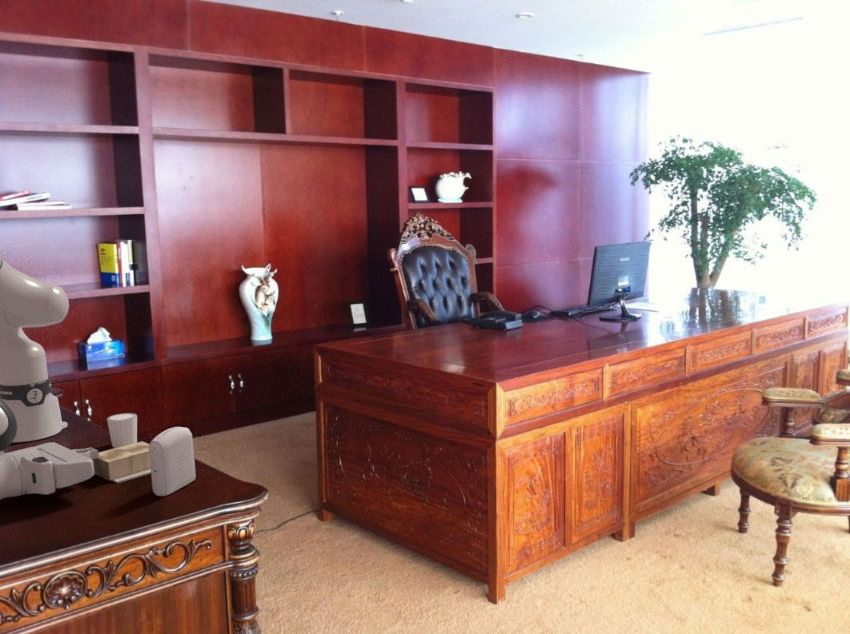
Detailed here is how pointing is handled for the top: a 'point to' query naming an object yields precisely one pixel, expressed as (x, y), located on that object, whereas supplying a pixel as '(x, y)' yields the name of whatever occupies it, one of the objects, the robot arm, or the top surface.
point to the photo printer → (172, 460)
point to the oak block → (122, 461)
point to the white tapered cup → (123, 429)
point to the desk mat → (132, 476)
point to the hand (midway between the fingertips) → (95, 452)
